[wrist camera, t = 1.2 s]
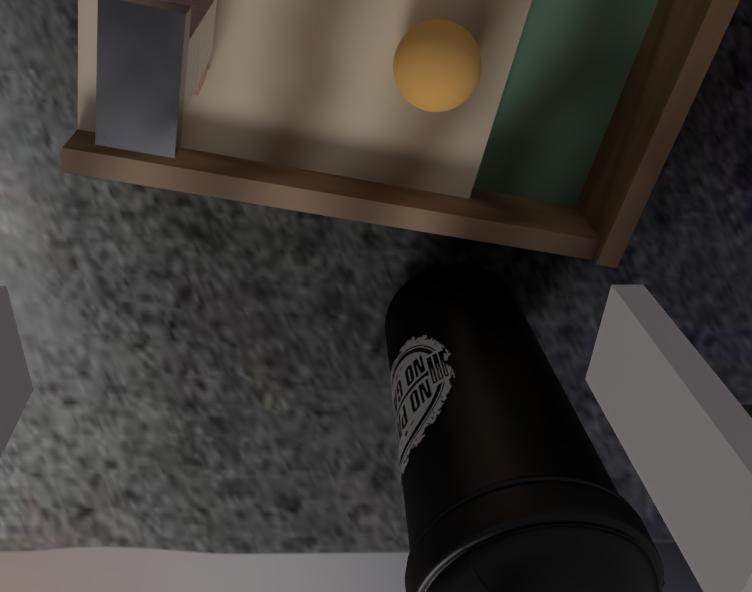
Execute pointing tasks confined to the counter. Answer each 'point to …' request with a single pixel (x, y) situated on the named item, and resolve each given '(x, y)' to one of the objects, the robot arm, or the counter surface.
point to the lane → (433, 116)
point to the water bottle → (499, 453)
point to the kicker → (149, 70)
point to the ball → (437, 65)
